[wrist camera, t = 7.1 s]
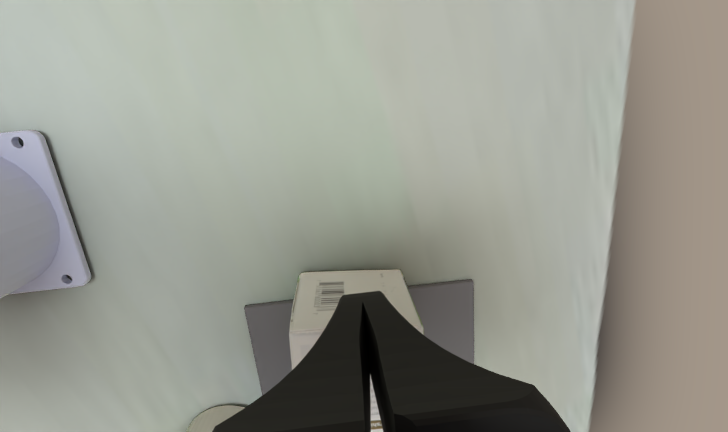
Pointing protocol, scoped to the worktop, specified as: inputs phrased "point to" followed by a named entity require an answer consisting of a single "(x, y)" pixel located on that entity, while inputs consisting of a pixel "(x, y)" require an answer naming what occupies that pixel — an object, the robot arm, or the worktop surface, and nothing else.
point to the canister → (212, 418)
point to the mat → (433, 303)
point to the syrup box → (321, 299)
